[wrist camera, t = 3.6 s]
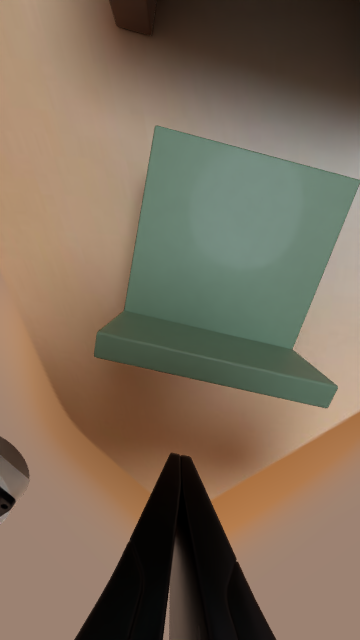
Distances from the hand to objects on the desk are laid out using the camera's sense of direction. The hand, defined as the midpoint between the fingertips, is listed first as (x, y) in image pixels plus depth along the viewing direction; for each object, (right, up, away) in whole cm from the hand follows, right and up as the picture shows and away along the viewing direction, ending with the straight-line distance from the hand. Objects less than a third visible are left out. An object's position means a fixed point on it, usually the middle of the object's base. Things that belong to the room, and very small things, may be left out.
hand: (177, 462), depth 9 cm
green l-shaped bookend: (+2, +9, +2) cm, 9 cm away
